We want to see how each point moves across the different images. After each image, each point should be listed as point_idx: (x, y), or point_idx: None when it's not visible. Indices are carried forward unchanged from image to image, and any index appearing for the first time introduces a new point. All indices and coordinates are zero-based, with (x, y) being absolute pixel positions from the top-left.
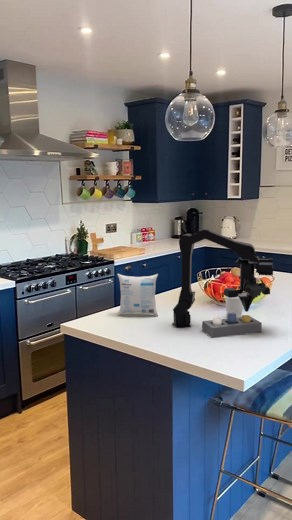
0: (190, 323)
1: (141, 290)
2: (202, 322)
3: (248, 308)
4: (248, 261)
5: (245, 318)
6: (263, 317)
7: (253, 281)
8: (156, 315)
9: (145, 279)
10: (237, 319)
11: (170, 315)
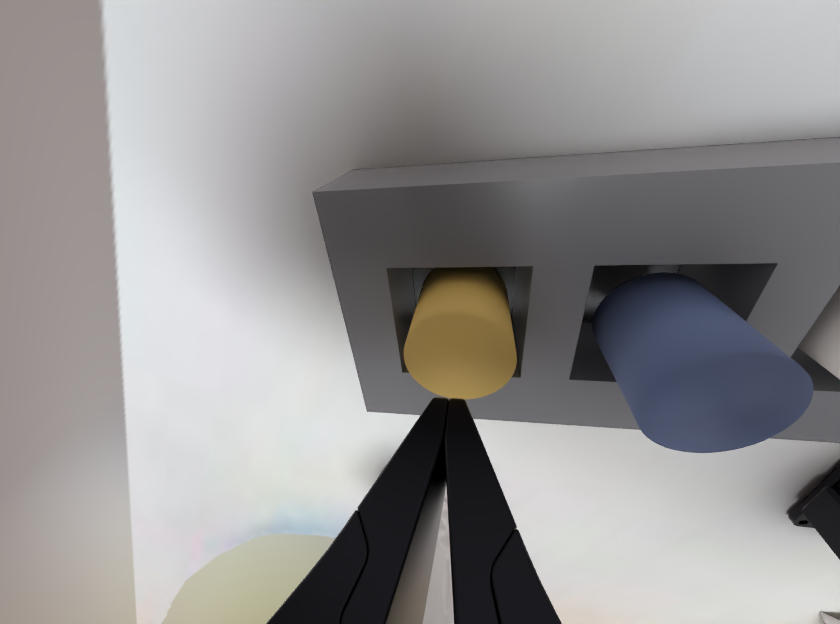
0: (827, 489)
1: None
2: None
3: (422, 434)
4: None
5: (493, 313)
6: (258, 435)
7: None
8: (837, 619)
9: None
10: (530, 378)
11: (743, 596)
